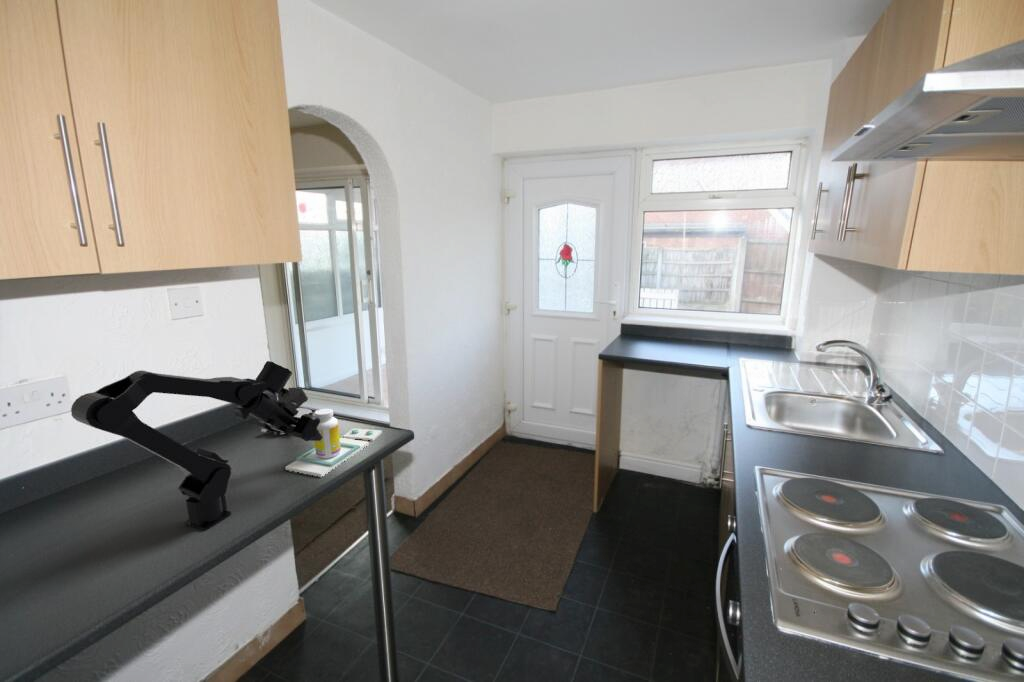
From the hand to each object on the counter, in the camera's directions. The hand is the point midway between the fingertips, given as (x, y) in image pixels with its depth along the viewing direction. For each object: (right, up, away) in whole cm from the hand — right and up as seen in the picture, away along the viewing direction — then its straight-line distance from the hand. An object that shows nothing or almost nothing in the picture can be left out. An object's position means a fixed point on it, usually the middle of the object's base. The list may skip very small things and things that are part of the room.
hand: (309, 435), depth 127 cm
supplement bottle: (+3, -7, +6) cm, 10 cm away
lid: (+8, -4, +20) cm, 22 cm away
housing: (+3, -7, +7) cm, 10 cm away
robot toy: (-18, -3, +28) cm, 33 cm away
